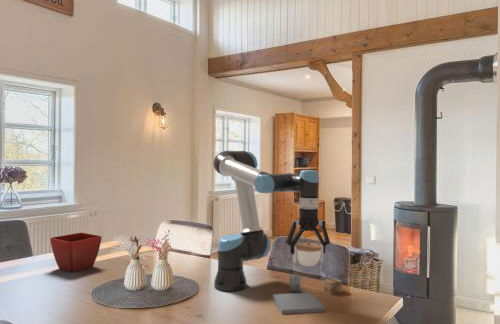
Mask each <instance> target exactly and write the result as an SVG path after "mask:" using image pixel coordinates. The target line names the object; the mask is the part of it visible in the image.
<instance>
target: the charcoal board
mask: <svg viewBox="0 0 500 324" xmlns="http://www.w3.org/2000/svg"><path fill="white" fill-rule="evenodd" d="M272 299H273V301H274V303H275V305H276V306H277V308H278V310H279V311H280V313H281V314H282V315H285V314H301V313H302V314H304V313H321V312H323V313H324V312H325V306H324V305H323V304H322V303H321V301H319V300H318V298H317V297H316V296H315V295H314V293H312V292H300V293H276V294H274V293H273V294H272Z"/></svg>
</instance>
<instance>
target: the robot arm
mask: <svg viewBox="0 0 500 324" xmlns="http://www.w3.org/2000/svg"><path fill="white" fill-rule="evenodd" d="M257 160H258V159H257V157H256V156H255V154H254V153H252V152H251V151H245V150H223V151H221V152H218V153H217V154H216V156H214V159H213V168H214V170H215V171H216V172H217V173H218V174H220V175H222V176H224V177H231V180H232V181H234V182H235V188H236V189H235V190H236V195H237V197H236V198H237V202H238V207H239V209H238V210H239V215H240V221H241V223H240V224H241V231H239V233H233V234H226V235H222V236H221V237H220V238H219V239H218V241H217V242H218V243H217V272H216V275H215V278H214V283H213V284H214V285H213V287H214V289H216V290H217V291H222V292H237V291H242V290H244V289H246V288H247V286H248V285H247V284H248V283H247V281H248V280H247V278H246V275H245V271H244V262H248V261H253V260H260V259H262V258H263V259H264V258H265V257H267V256H268V254H269V253H270V250H271V240H270V237H269V236H268V235H267V234H266V233H264V229H263V228H262V227H261V225H260V220H259V216H258V215H259V214H258V210H257V208H258V207H257V203H256V196H255V190H256V192H257V193H259V194H270V193H271V194H272V193H273V194H274V193H286V192H295V193H299V207H300V208H299V215H298V217H299V219H298V220H292V221H291V226H290V228H289V229H290V230H289V233H288V236H287V238H286V241H285V243H286V244H287V245H288V246H290V254H291V255H292V262H293V264H297V258H296V252H297V247H296V246H295V245H296V244H297V243H298V242H299V239H301V237H302V235H303V234H304V232H309V231H310V232H313V233H314V235H316V236H315V237H317V239H318V241H319V243H320V245H321V247H322V248H321V256H320V259H319V261H318V262H321V263H323V262H324V254H326V246H327V245H330V243H331V241H330V238H329V235H328V231H327V228H326V221H325V220H323V219H321V220H319V209H318V207H319V183H320V179H319V178H320V177H319V172H318V171H317V170H314V169H313V170H312V169H311V170H310V169H302V170H300V173H299V174H298V173H290V172H288V173H285V172H284V173H276V174H275V173H274V174H273V173H268V172H267V171H263V170H261V169H258V161H257ZM254 189H255V190H254ZM298 225H299V227H298V230H297V232H296V229H297V226H298ZM318 226H320V229H321V233H322V235H323V236H322V235H321V233H320V231H319V229H318ZM295 232H296V233H295Z"/></svg>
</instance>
